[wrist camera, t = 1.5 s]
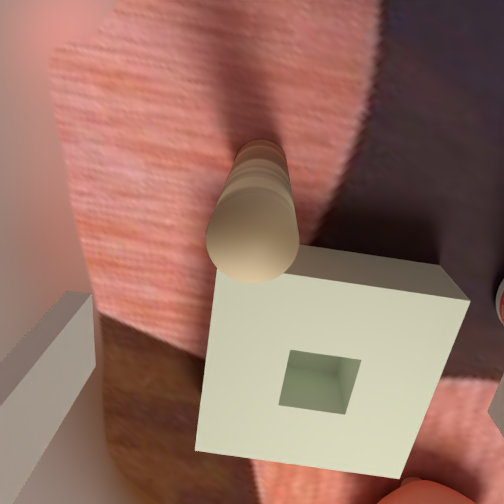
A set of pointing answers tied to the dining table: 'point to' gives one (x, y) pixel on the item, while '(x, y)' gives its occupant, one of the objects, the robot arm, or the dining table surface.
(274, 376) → the bore block
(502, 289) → the pill bottle
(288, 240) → the dowel
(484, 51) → the dining table surface
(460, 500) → the teapot
